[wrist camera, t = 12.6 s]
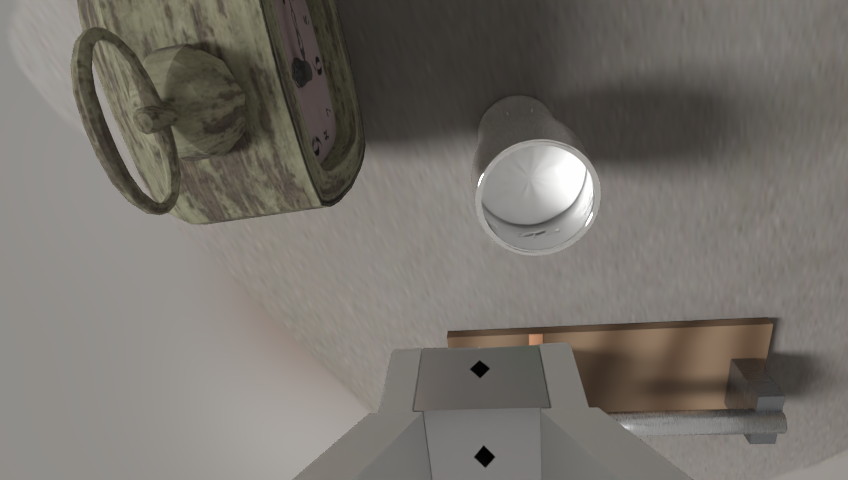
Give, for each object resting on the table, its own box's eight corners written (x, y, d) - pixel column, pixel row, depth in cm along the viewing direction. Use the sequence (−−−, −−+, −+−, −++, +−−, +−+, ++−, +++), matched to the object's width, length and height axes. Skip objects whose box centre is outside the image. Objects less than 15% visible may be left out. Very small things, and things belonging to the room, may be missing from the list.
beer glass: (576, 151, 42) (626, 224, 28) (497, 191, 44) (508, 279, 30) (537, 71, 39) (571, 109, 26) (455, 117, 41) (447, 176, 28)
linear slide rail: (754, 357, 47) (792, 405, 41) (747, 402, 49) (781, 452, 43) (461, 368, 50) (459, 413, 44) (465, 409, 52) (464, 457, 46)
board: (767, 317, 46) (773, 324, 45) (748, 423, 51) (753, 431, 50) (447, 331, 50) (447, 338, 49) (458, 429, 54) (457, 437, 53)
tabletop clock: (378, 145, 43) (273, 310, 20) (273, 161, 44) (62, 334, 21) (335, -57, 37) (119, -145, 14) (215, -30, 38) (-156, -73, 16)
